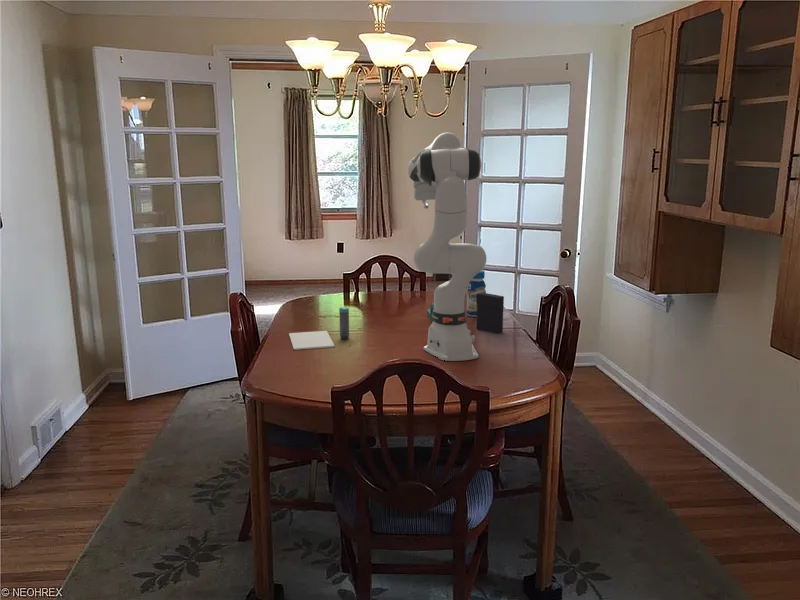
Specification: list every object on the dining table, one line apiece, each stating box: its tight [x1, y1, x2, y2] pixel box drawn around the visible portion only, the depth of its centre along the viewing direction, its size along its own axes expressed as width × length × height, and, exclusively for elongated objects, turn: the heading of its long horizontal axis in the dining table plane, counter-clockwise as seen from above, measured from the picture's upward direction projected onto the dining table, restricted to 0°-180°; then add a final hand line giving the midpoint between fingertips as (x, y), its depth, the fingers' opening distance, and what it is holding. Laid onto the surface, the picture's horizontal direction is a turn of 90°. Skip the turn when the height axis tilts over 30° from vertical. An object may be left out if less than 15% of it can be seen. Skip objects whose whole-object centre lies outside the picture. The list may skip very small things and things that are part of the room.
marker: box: [338, 307, 350, 340], centre depth 247 cm, size 4×4×12 cm
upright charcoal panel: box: [475, 292, 505, 335], centre depth 258 cm, size 11×4×15 cm, turn 47°
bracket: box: [426, 302, 434, 323], centre depth 280 cm, size 18×7×8 cm, turn 7°
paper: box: [288, 330, 336, 351], centre depth 245 cm, size 21×15×1 cm
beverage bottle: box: [466, 269, 487, 318], centre depth 283 cm, size 8×8×20 cm
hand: (436, 207), depth 279 cm, fingers open, 8 cm apart
